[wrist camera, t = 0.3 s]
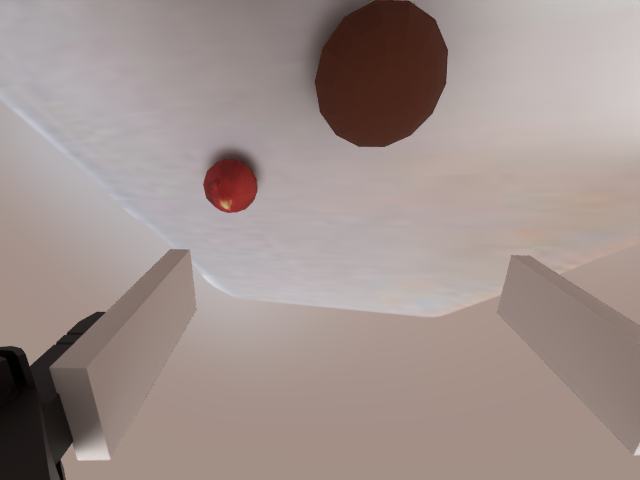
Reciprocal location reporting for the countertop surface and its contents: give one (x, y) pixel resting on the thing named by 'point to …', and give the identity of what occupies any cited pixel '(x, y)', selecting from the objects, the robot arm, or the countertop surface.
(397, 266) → the countertop surface
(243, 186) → the red rounded lump
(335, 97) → the muffin
